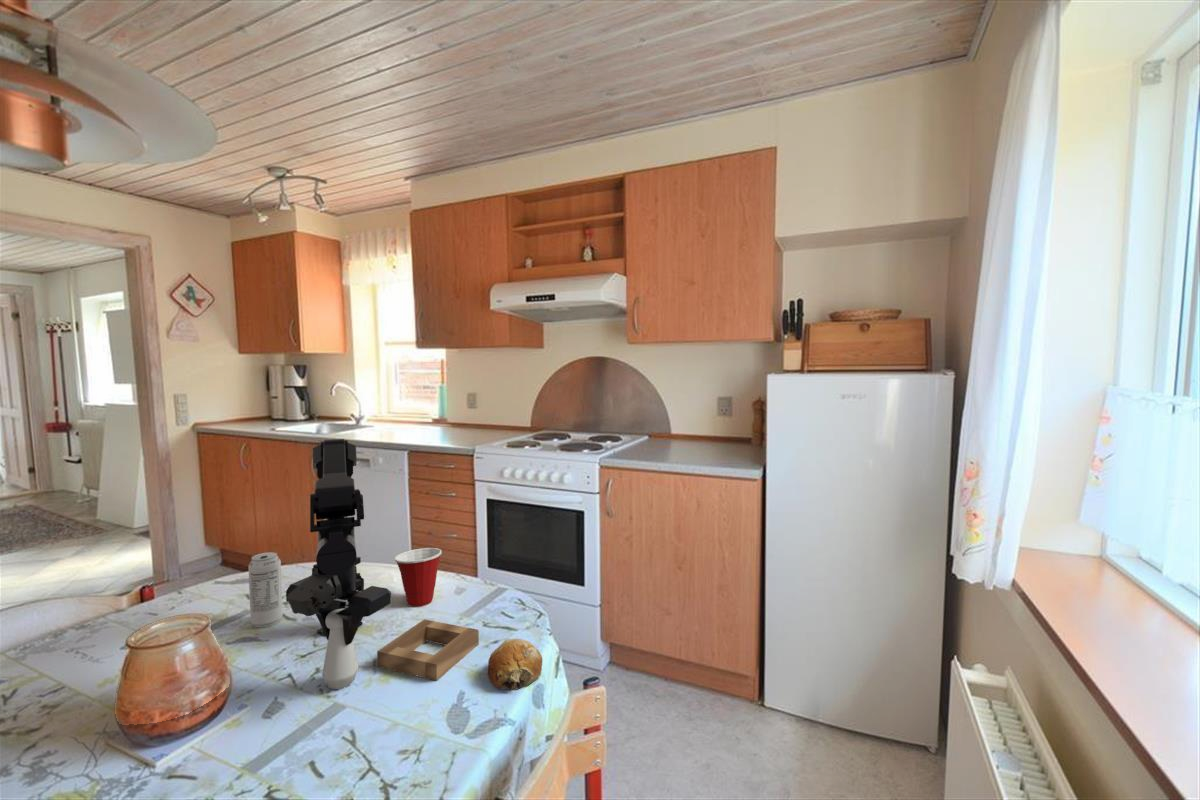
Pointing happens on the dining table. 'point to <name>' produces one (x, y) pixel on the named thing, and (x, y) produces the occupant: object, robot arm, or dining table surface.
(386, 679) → the dining table surface
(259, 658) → the dining table surface
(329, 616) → the salt shaker
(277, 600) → the energy drink can
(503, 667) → the bread roll
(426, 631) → the frame
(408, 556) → the plastic cup
